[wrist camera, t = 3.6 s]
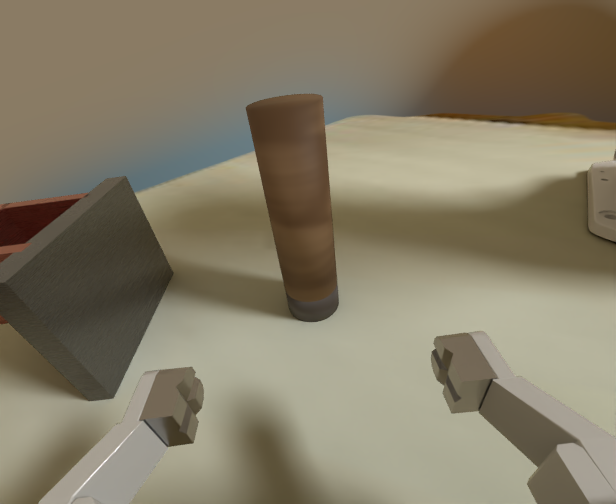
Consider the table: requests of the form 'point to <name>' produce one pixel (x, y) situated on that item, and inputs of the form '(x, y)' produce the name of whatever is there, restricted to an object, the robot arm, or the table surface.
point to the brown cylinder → (298, 198)
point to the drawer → (82, 281)
